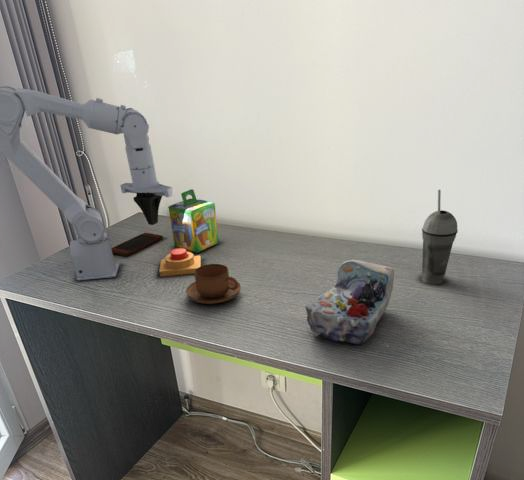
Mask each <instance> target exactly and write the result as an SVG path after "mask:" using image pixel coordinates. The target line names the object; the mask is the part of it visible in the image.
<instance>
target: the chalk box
mask: <svg viewBox="0 0 524 480" xmlns="http://www.w3.org/2000/svg"><path fill="white" fill-rule="evenodd" d="M180 195H181V199H182V201H179V202H176V203H173V204H171V205H168V208H167V209H168V212H169V219H170V224H171V225H170V226H171V231H172V232H171V233H172V237H173V238H172V239H173V245H174V249H179V248H182V249H186V250H187V252H191V253H197V254H198V253H200V252H203V251H205V250H206V249H209V248H211V247H214V246H216V245H218V244H219V241H220V240H219V233H218V232H219V231H218V221H217V212H216V203H215V202H212V201H208V200H204V199H197V196H196V194H195V190H194V189H193V188H191V189H188V190H186V191H183V192H181V194H180ZM188 196H191V198H188V199H187V197H188Z"/></svg>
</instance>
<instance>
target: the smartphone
mask: <svg viewBox="0 0 524 480" xmlns="http://www.w3.org/2000/svg"><path fill="white" fill-rule="evenodd" d="M163 238H164V236H163V235H161V234H157V233H149V232H143V233H140V234H138V235H137V236H135V237H132V238H130V239H128V240H125V241H123V242H121V243H120V244H117V245H115V246H113V247H111V249H112V253H113V254H114V255H118V256H119V255H120V256H124V257H128V256H130V255H132V254H135V253H136V252H138V251H140V250H143V249H145V248H147V247H149V246H151V245H152V244H154V243H156V242H158V241H160V240H162V239H163Z"/></svg>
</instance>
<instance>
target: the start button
mask: <svg viewBox="0 0 524 480" xmlns="http://www.w3.org/2000/svg"><path fill="white" fill-rule="evenodd" d="M187 252H188V250H186V249H182V248H174V249H172V250H170V252H169V254H170V253H171V259H172V260H183V259H186V258H187Z"/></svg>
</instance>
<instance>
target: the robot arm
mask: <svg viewBox="0 0 524 480" xmlns="http://www.w3.org/2000/svg"><path fill="white" fill-rule="evenodd" d="M40 113H47V114H52V115H58V116H62V117H66V118H71V119H76V120H81V121H82V122H83V123H84V125H85V126H86V127H87V128H88V129H90V130H91V129H92V130H96V131H100V132H104V133H108V134H113V135H120V134H123V138H124V144H125V147H124V148H125V155H126V159H127V163H128V167H129V172H130V177H131V182H124V183H122V184H120V190H121V194H129V193H130V194H136V195H135V196H133V198H132V199H133V201H134V203H135V204H136V205H137V206H138V208H139V209H140V211H141V212H142V214H143V215H144V218H145V219H146V222H147V224H148V226H149V225H150V226H154V225H156V224H158V223H159V211H160V210H159V209H160V205H161V201H162V198H163V197H165V198H171V197H172V196H174V195H175V194H174V188H173V186H169V185H165V184H162V183H160V182H159V181H158V179H157V173H156V167H155V163H154V162H155V161H154V156H153V151H152V147H151V144H150V137H149V135H148V133H149V129H150V125H149V123H148V121H147V119H146V117H145V116H144V115H143V114H142V113H141V112H140V111H139V110H137V109H134V108H132V107H127V106H126V105H125V104H120V105H114V104H111V103H107V102H104V99H102V98H100V97H96V98H95V99H89V100H87V101H86V102H85V103H81V102H77V101H73V100H71V99H68V98H67V99H66V98H64V97H61V96H60V97H59V96H56V95H52V94H49V93H46V92H43V91H38V90H35V89H28V88H21V87H20V88H19V87H18V88H14V87H11V86H8V85H3V86H0V152H1V153H2V154H3V155H4V156H5V157H6V158H7V159H8V160H9V161H10V162H11V163H12V164H13V165H14V166H15V167H16V168H17V169H18V170H19V171H20V172H21V173H22V174H23V175H24V176H25V177H26V178H27V179H28V180H29V181H30V182H31V183H32V184H33V185H34V186H36V187H37V189H39V191H41V192H42V194H44V195H45V196H46V197H47V198H48V199H49V200H50V201H51V202H52V203H53V204H54V205H55V206H56V207H57V208H58V209H59V210H60V211H61V212H62V213H63V215H64V216H65V218H66V220H67V221H68V222H69V223H70V225H71V226H72V227H73V228H74V230H75V232H76V235H77V239H76V240H75V239H74V240H71V241H70V243H69V253H70V258H71V261H72V265H73V269H74V273H75V275H76V281H88V280H97V279H98V280H99V279H107V278H116V276H117V274H118V271H119V268H120V265H121V264H120V263H119V262H115V257H114V253H112V249H111V248H112V244H111V241H110V237H109V233H108V232H106V229H105V226H104V218H103V215H102V213H101V211H100V210H98V209H97V208H95V207H94V206H91V205H89V204H88V203H86V201H85V200H84V199H82V198H81V197H79V196H77V195H76V194H75V193H74V191H72V189H70V188H69V187H68V185H67V184H66V183H65V182H63V180H62V179H61V178H60V177H59V176H58V175H57V174H56V173H55V172H54V171H53V170H52V169H51V168H50V167H49V166H48V165H47V164H46V163H45V162H44V161H43V160H42V159H41V158H40V157H39V156H38V155H37V153H35V152H34V150H33V149H32V148H30V146H29V145H28V144H27V143H26V142H24V140H23V131H22V130H23V129H22V125H23V124H22V122H23V118H24V115H25V114H26V116H27V117H31V116H33V115H36V114H40Z"/></svg>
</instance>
